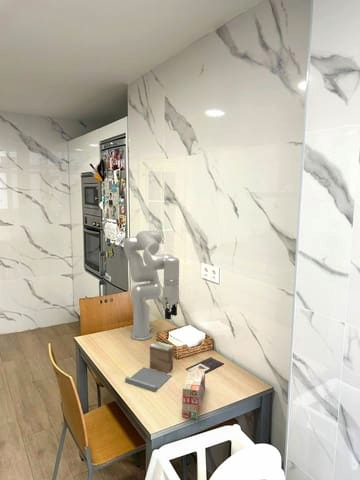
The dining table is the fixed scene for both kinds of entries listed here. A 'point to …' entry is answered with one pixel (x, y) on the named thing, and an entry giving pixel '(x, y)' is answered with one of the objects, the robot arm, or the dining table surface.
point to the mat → (148, 379)
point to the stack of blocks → (193, 393)
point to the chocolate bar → (206, 365)
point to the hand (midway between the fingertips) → (170, 316)
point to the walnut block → (161, 357)
